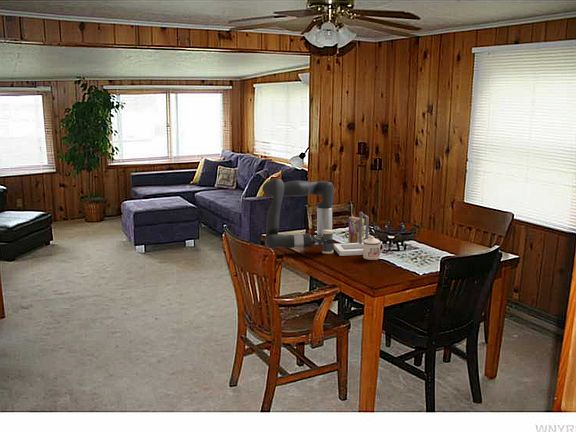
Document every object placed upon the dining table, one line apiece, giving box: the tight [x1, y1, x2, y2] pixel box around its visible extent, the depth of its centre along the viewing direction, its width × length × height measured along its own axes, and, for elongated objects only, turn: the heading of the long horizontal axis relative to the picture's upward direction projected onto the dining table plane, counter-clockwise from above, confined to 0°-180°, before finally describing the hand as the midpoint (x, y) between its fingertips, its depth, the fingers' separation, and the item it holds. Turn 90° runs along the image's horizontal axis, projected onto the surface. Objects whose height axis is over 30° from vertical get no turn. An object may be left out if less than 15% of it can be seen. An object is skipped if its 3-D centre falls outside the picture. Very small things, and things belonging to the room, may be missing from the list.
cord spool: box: [321, 229, 335, 255], centre depth 308 cm, size 6×6×12 cm
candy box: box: [347, 216, 365, 243], centre depth 326 cm, size 9×4×15 cm, turn 39°
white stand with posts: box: [333, 211, 370, 257], centre depth 309 cm, size 16×20×21 cm
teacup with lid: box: [362, 235, 385, 261], centre depth 297 cm, size 12×9×12 cm
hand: (331, 239), depth 308 cm, fingers open, 7 cm apart
